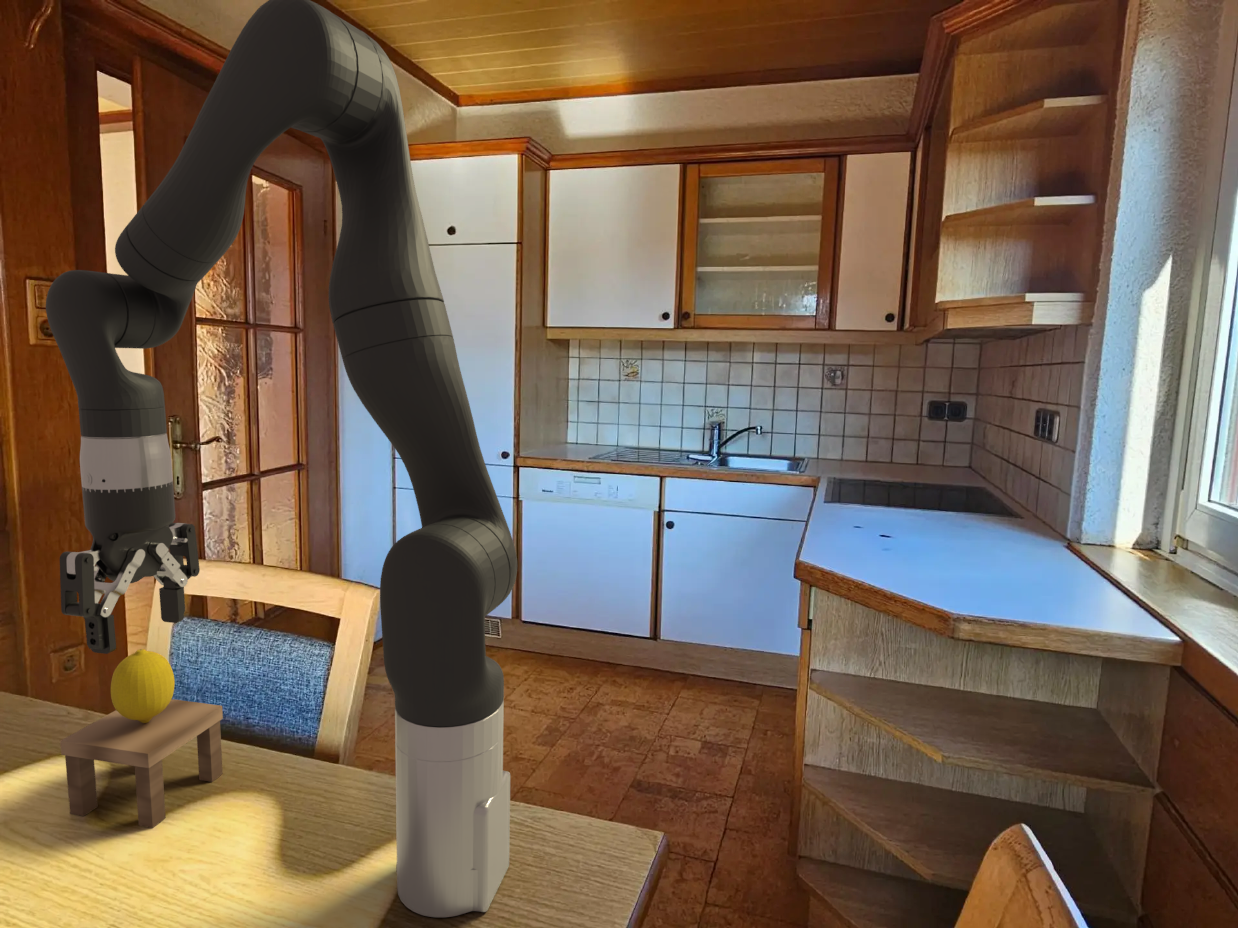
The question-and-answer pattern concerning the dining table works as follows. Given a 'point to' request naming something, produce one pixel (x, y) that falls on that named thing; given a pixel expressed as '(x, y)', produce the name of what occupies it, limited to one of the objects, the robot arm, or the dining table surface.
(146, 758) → the stool
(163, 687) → the lemon
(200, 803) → the dining table surface
